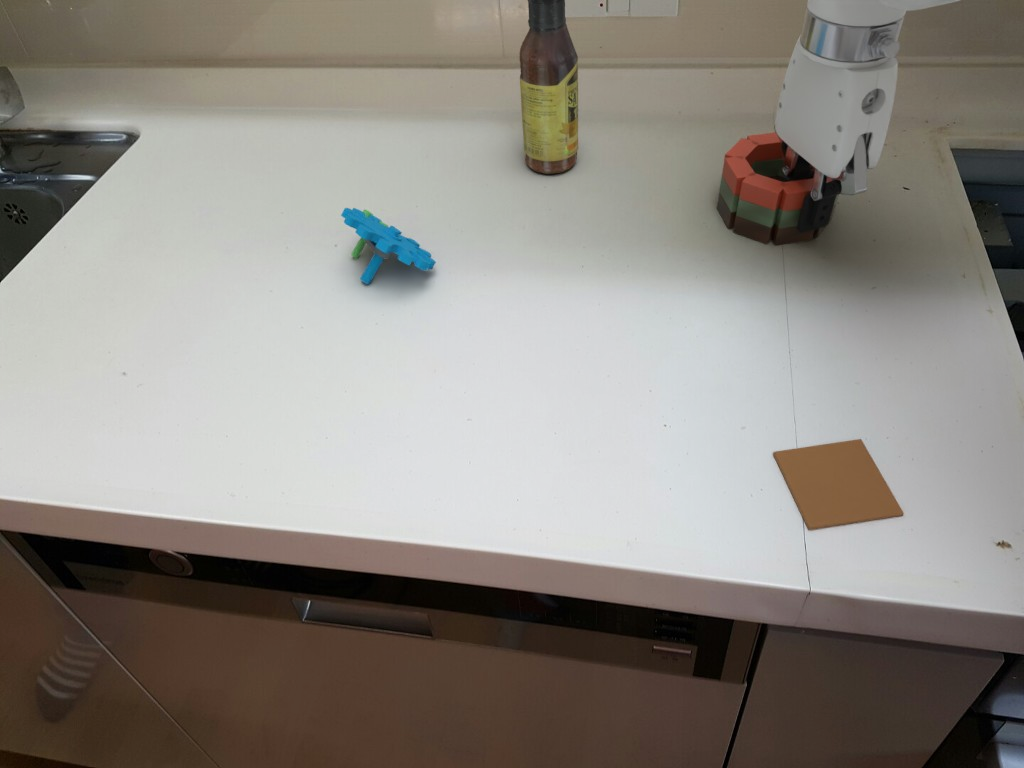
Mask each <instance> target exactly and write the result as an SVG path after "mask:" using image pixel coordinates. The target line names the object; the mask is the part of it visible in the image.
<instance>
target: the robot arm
mask: <svg viewBox="0 0 1024 768" xmlns="http://www.w3.org/2000/svg"><path fill="white" fill-rule="evenodd" d="M960 1H962V0H807V3H806V9H805V13H804V16H803V21H802V25H801V32H800V35H799V37H798V38H797V41H796V43H795V45H794V48H793V50H792V54H791V57H790V59H789V62H788V65H787V68H786V72H785V75H784V78H783V82H782V86H781V89H780V94H779V98H778V102H777V107H776V113H775V121H774V125H773V129H774V132H776V134H777V136H778V138H779V140H780V142H781V143H782V146H781V147H782V151H783V155H784V158H785V159H784V162H783V166H782V171H783V173H784V175H786V176H787V177H785V178H784V182H789V181H796V180H804V179H812V178H813V183H812V188H811V194H808V195H806V196H805V197H804V201H803V205H802V209H801V213H800V217H799V221H798V225H797V229H798V230H799V231H800V232H801V233H804V232H807V231H811V230H814V229H818V228H822V227H825V226H826V227H827V226H828V225H829V223H830V222H829V220H830V216H831V213H832V209H833V206H834V202H835V199H836V195H838V196H839V195H845V196H855V195H856V196H857V195H860V194H863V193H866V192H867V191H868V170H873V169H875V168H876V167H877V165H878V163H879V161H880V158H881V156H882V151H883V148H884V145H885V141H886V137H887V134H888V131H889V126H890V121H891V117H892V112H893V108H894V102H895V97H896V90H897V81H898V69H899V68H898V67H899V61H898V60H897V59H896V58H895V56H897V54H898V53H899V51H900V49H901V43H900V42H899V41H898V39H899V38H900V37H899V36H900V33H901V29H902V26H903V23H904V20H905V16H906V13H907V12H913V11H920V10H925V9H929V8H935V7H938V6H943V5H948V4H953V3H957V2H960ZM813 167H815V171H814V170H811V169H812V168H813ZM810 170H811V171H810ZM827 176H828V177H830V178H833V180H832V181H830V182H828V183H826V181H827ZM826 227H825V228H826Z"/></svg>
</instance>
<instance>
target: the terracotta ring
mask: <svg viewBox="0 0 1024 768" xmlns="http://www.w3.org/2000/svg"><path fill="white" fill-rule="evenodd" d="M781 146H782V143H781V142H780V140H779V138H778V136H777V134H776V132H775V131H774V132H767V133H759V134H750V135H747V136H746V138H745V137H741V138H740V139H739V140H738V141H737V142H736V143H734V145H733V146H732V147H731V148H730V149H728V151H727V152H726V153H725V154H724V160H723V166H722V172H721V177H722V176H723V177H724V179H725V181H726V183H727V184H728V186H729V188H730V189H731V191H732V193H733V194H734V195H740V196H739V199H741V200H744V201H747V202H750V203H754V204H757V205H760V206H763V207H766V208H769V209H772V210H776V209H777V208H778V207H779V206H780V208H781V209H782V211H789V210H797V209H802V205H803V201H804V197H805V196H806V195H808V194H811V188H812V183H813V178H812V179H804V180H796V181H789V182H781V181H778V180H775V179H772V178H769V177H765V176H762V175H759V174H756V173H755V172H754V171H753V169H752V168H751V165H752V164H753V163H754V162H757V161H765V160H773V159H781V158H782V159H785V158H784V155H783V151H782V147H781ZM811 170H814V171H815V167H813V168H812V169H811ZM832 180H833V178H830V177H828V176H827V181H826V183H828V182H830V181H832Z"/></svg>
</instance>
